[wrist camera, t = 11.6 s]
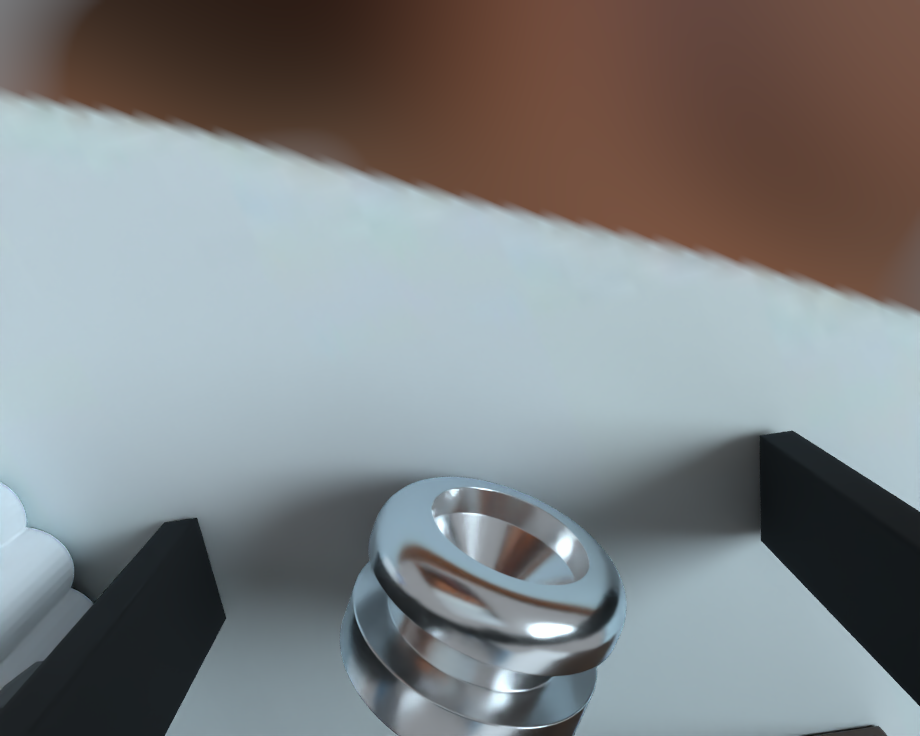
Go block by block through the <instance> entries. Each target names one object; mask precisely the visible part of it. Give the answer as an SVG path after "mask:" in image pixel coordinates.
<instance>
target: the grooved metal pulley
mask: <svg viewBox="0 0 920 736" xmlns="http://www.w3.org/2000/svg"><path fill="white" fill-rule="evenodd" d="M368 552H369V559H370V561H369V562H368V563H367V564H366V565H365V566H364V567H363V568H362V570H361V571H360V573H359V575H358V577H357V579H356V581H355V584H354V587H353V590H352V593H351V596H350V599H349V602H348V606H347V609H346V612H345V615H344V618H343V621H342V625H341V630H340V649H341V655H342V659H343V663H344V666H345V669H346V672H347V674H348V676H349V678H350V680H351V682H352V684H353V686H354V688H355V689H356V691H357V693H358V694H359V696H360V697H361V698H362V700H363V701H364V702H365V704H366V705H367V706H368V707H369V709H370V710H371V711H372V712H373V713H374V714H375V715H376V716H377V717H378V718H379V719H380V720H381V721H382V722H383V723H384V724H385V725H386V726H388V727H389V728H390V729H391V730H392V731H394V732H395V733H396V734H398V735H399V736H574V734H575V732H576V729H577V727H578V725H579V723H580V721H581V719H582V716H583V714H584V712H585V710H586V708H587V706H588V703H589V701H590V699H591V697H592V695H593V692H594V690H595V686H596V680H597V666H598V665H599V664H601V663H602V662H603V661H604V660H606V659H607V658H608V656H609V655H610V654H611V653H612V651H613V649H614V647H615V645H616V643H617V641H618V639H619V636H620V634H621V632H622V629H623V627H624V623H625V618H626V608H627V604H626V594H625V589H624V585H623V582H622V579H621V577H620V574H619V572H618V570H617V568H616V566H615V565H614V563H613V561H612V560H611V558H610V557H609V555H608V554H607V553H606V551H605V550H604V549H603V548H602V546H601V545H600V544H599V543H598V542H597V541H596V540H595V539H594V538H593V537H592V536H591V535H590V534H589V533H588V532H587V531H585V530H584V529H583V528H582V527H581V526H579V525H578V524H577V523H576V522H574V521H573V520H572V519H570V518H569V517H567V516H566V515H564V514H563V513H561V512H560V511H558V510H556V509H555V508H553V507H551V506H550V505H548V504H546V503H544V502H542V501H540V500H538V499H536V498H534V497H532V496H530V495H527V494H525V493H522V492H520V491H517V490H515V489H512V488H509V487H506V486H503V485H500V484H496V483H492V482H488V481H484V480H479V479H473V478H465V477H435V478H429V479H424V480H420V481H417V482H414V483H412V484H409V485H407V486H405V487H404V488H402V489H400V490H399V491H397V492H396V493H395V494H394V495H393V496H391V497H390V498H389V499H388V501H387V502H386V503H385V504H384V505H383V507H382V508H381V510H380V512H379V514H378V516H377V518H376V520H375V523H374V526H373V529H372V532H371V535H370V539H369V546H368Z"/></svg>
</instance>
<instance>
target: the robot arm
mask: <svg viewBox="0 0 920 736" xmlns="http://www.w3.org/2000/svg"><path fill="white" fill-rule="evenodd" d="M760 498H761V541H762V542H763V543H764V544H765V545H766V546H767V547H768V548H769V549H770V550H771V551H772V552H773V553H774V555H775V556H776V557H777V558H778V559H779V560H780V561H781V562H782V563H783V564H784V565H785V566H786V567H787V568H788V569H789V570H790V571H791V572H792V573H793V574H794V575H795V576H796V577H797V579H798V580H799V581H800V582H801V583H802V584H803V585H804V586H805V587H806V588H807V589H808V590H809V591H810V592H811V593H812V594H813V595H814V596H815V597H816V598H817V599H818V600H819V601H820V603H821V604H822V605H823V606H824V607H825V608H826V609H827V610H828V611H829V612H830V613H831V614H832V615H833V616H834V617H835V618H836V619H837V620H838V621H839V622H840V623H841V624H842V625H843V627H844V628H845V629H846V630H847V631H848V632H849V633H850V634H851V635H852V636H853V637H854V638H855V639H856V640H857V641H858V642H859V643H860V644H861V645H862V646H863V647H864V648H865V649H866V651H867V652H868V653H869V654H870V655H871V656H872V657H873V658H874V659H875V660H876V661H877V662H878V663H879V664H880V665H881V666H882V667H883V668H884V669H885V670H886V671H887V672H888V673H889V675H890V676H891V677H892V678H893V679H894V680H895V681H896V682H897V683H898V684H899V685H900V686H901V687H902V688H903V689H904V690H905V691H906V692H907V693H908V694H909V695H910V696H911V697H912V699H913V700H914V701H915V702H916V703H917V704H918V705H919V706H920V512H919V511H918V510H916V509H915V508H913V507H912V506H910V505H908V504H907V503H905V502H904V501H902V500H901V499H899V498H897V497H896V496H894V495H893V494H891V493H890V492H888V491H886V490H885V489H883V488H882V487H880V486H879V485H877V484H875V483H874V482H872V481H871V480H869V479H868V478H866V477H864V476H863V475H861V474H860V473H858V472H857V471H855V470H853V469H852V468H850V467H849V466H847V465H846V464H844V463H843V462H841V461H839V460H838V459H836V458H835V457H833V456H832V455H830V454H828V453H827V452H825V451H824V450H822V449H821V448H819V447H817V446H816V445H814V444H813V443H811V442H810V441H808V440H806V439H805V438H803V437H802V436H800V435H799V434H797V433H795V432H794V431H787V432H781V433H774V434H767V435H760ZM225 619H226V616H225V613H224V610H223V606H222V603H221V599H220V596H219V592H218V589H217V585H216V582H215V579H214V575H213V572H212V568H211V565H210V561H209V558H208V555H207V551H206V548H205V544H204V541H203V537H202V534H201V530H200V527H199V524H198V520H197V518H193V519H186V520H180V521H173V522H166V523H164V524H163V525H162V526H161V527H160V528H159V529H158V531H157V532H156V533H155V534H154V535H153V536H152V538H151V539H150V540H149V541H148V542H147V543H146V544H145V546H144V547H143V548H142V549H141V550H140V551H139V552H138V554H137V555H136V556H135V557H134V558H133V559H132V560H131V562H130V563H129V564H128V565H127V566H126V567H125V568H124V570H123V571H122V572H121V573H120V574H119V575H118V576H117V578H116V579H115V580H114V581H113V582H112V583H111V584H110V586H109V587H108V588H107V589H106V590H105V591H104V592H103V594H102V595H101V596H100V597H99V598H98V599H97V600H96V602H95V603H94V604H93V605H92V606H91V607H90V608H89V610H88V611H87V612H86V613H85V614H84V615H83V616H82V618H81V619H80V620H79V621H78V622H77V623H76V624H75V626H74V627H73V628H72V629H71V630H70V631H69V632H68V634H67V635H66V636H65V637H64V638H63V639H62V640H61V642H60V643H59V644H58V645H57V646H56V647H55V648H54V650H53V651H52V652H51V653H50V654H49V655H48V656H47V658H46V659H45V660H44V661H38V662H35V663H34V664H32V665H31V666H30V667H28V668H27V669H26V670H25V671H23V672H22V673H21V674H19V675H18V676H17V677H15V678H14V679H13V680H11V681H10V682H9V683H7V684H6V685H5V686H4V687H3V688H2V689H1V690H0V736H165V734H166V732H167V730H168V728H169V726H170V724H171V723H172V721H173V719H174V717H175V715H176V713H177V711H178V709H179V707H180V705H181V703H182V701H183V700H184V698H185V696H186V694H187V692H188V690H189V688H190V686H191V684H192V682H193V680H194V678H195V677H196V675H197V673H198V671H199V669H200V667H201V665H202V663H203V661H204V659H205V657H206V655H207V654H208V652H209V650H210V648H211V646H212V644H213V642H214V640H215V638H216V636H217V634H218V632H219V631H220V629H221V627H222V625H223V623H224V621H225Z"/></svg>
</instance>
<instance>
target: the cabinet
mask: <svg viewBox="0 0 920 736" xmlns="http://www.w3.org/2000/svg"><path fill="white" fill-rule="evenodd" d="M813 736H887V735H886V734H885V732H884V731H883V730H882V729H881V728H880V727H879V726H874V727H867V728H861V729H854V730H847V731H840V732H834V733H827V734H820V735H813Z"/></svg>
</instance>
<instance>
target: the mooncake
mask: <svg viewBox="0 0 920 736" xmlns="http://www.w3.org/2000/svg"><path fill="white" fill-rule="evenodd" d="M73 579H74V564H73V560H72V557H71V555H70V553H69V552H68V550H67V548H66V547H65V546H64V545H63V544H62V543H61V542H60V541H59V540H58V539H57V538H55V537H54V536H52V535H50V534H48V533H46V532H44V531H42V530H38V529H35V528H29V527H27V518H26V512H25V509H24V506H23V504H22V502H21V500H20V499H19V498H18V496H17V495H16V494H15V493H14V492H13V491H12V490H11V489H10V488H9V487H7V486H6V485H5V484H3V483H1V482H0V690H1V689H2V688H3V687H4V686H5V685H6V684H7V683H9V682H10V681H11V680H13V679H14V678H15V677H17V676H18V675H19V674H21V673H22V672H23V671H25V670H26V669H27V668H28V667H30V666H31V665H32V664H34V663H35V662H38V661H44V660H45V659H46V658H47V656H48V655H49V654H50V653H51V652H52V651H53V650H54V648H55V647H56V646H57V645H58V644H59V643H60V642H61V640H62V639H63V638H64V637H65V636H66V635H67V634H68V632H69V631H70V630H71V629H72V628H73V627H74V626H75V624H76V623H77V622H78V621H79V620H80V619H81V618H82V616H83V615H84V614H85V613H86V612H87V611H88V610H89V608H90V607H91V606H92V605H93V603H92V601H91V600H90V599H89V598H88V597H86V596H85V595H84V594H82V593H81V592H79V591H77V590H75V589H72V588H71V586H72V583H73Z"/></svg>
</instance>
